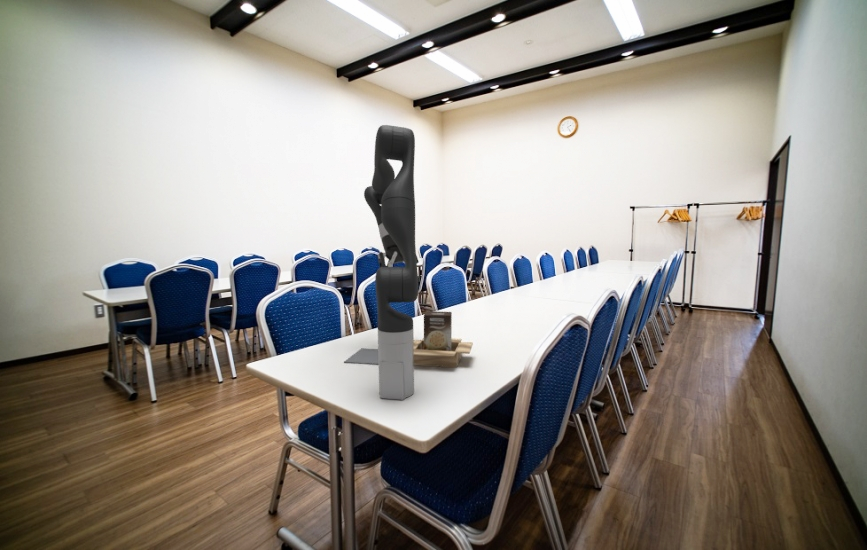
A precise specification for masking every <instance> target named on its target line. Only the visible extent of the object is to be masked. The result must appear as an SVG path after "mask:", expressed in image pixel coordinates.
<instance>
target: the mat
mask: <svg viewBox="0 0 867 550" xmlns="http://www.w3.org/2000/svg"><path fill="white" fill-rule="evenodd" d="M343 363H344V364H359V365H374V366H379V361H378V348H360V349H359V350H357V351H356V352H355V353H353V354H352V355H351V356H349V357H348V358H347V359H346V360H344V361H343Z"/></svg>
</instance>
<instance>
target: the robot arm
mask: <svg viewBox="0 0 867 550" xmlns="http://www.w3.org/2000/svg"><path fill="white" fill-rule="evenodd" d="M415 140H416V138H415V134H414V131H413V130H412V129H411V128H407V127H404V126H403V127H401V126H395V125H388V124H382V125H380V126H379V127H378V128H377V130H376V135H375V142H374V143H375V144H374V156H373V157H374V161H373V162H374V163H373V164H374V169H373V176H372V179H371V185H370V186H366V187H365V189H364V191H363V197H364V200H365V201H366V204H367V205H368V206H369V207H368V208H370V209H371V211H372V213H373V215H374V217H375V220H376V224H377V226H378V232H379V237H380V240H381V244H382V247H383V250H384V252H382V251H380V252H379V253H378V254H377V255H376V256H377V261H378V266H379V268H378V269H377V271H375V278H374V279H375V284H374V285H375V295H376V308H377V312H376V313H377V349H378V361H379V365H378V386H379V387H378V391H379V398H380V399H388V400H389V399H390V400H402V401H403V400H405V399H406V398H408V397H411V396H412V395H414V393H415V365H414V345H413V340H414V320H413V317H412V316H411V315H409V314H406V313H403V312H400V311H398V310H396V309H394V308H393V307H392V306H391V305H390V303H391V304H392V303H393V304H394V303H397V304H399V303H401V304H402V303H412V302H413V303H414V302H416V301H417V299H418V296H419V276H418V275H419V274H418V263H419V262H420V261H419V259H418V256H417V251H416V249H417V248H416V201H415V199H416V198H415V197H416V196H415V177H414V176H415V175H414V174H415V173H414V172H415V155H416V154H415V152H416V149H415V147H416V141H415ZM389 160H392V161H399V162H401V164H402V165H401V167H400V170H399V171H398V172H397V175H396V174H395V170H394V168H393V166H392V164H391V163H390V162H389ZM395 175H396V176H395ZM385 259H387V260H388V262H387V263H386V261H385ZM401 263H404V265H405V266H394V265H395V264H401Z"/></svg>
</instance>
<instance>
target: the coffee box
mask: <svg viewBox="0 0 867 550" xmlns="http://www.w3.org/2000/svg"><path fill="white" fill-rule="evenodd" d="M452 319H453V316H452V311H432V310H431V311H429V310H426V311H425V312H424V314H423V338H424V350H441V351H451V338H452V335H453V334H452V328H453V327H452V325H453V324H452Z"/></svg>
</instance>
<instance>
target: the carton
mask: <svg viewBox="0 0 867 550" xmlns="http://www.w3.org/2000/svg"><path fill="white" fill-rule="evenodd" d="M413 345H414V366H427V367H428V366H429V367H442V368H443V367H445V368H447V367H448V368H458V365H459V362H460V360H461V357H462V354H464V355H465V354H467V355H468V354H470V353H471V351H472V347H473V345H474V342H468V341H462V338H453V337H451V351H441V350H424V337H423V338H422V340H421V339H420V340H419V339H413Z"/></svg>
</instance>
